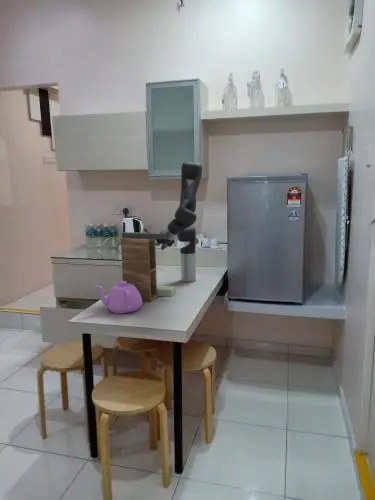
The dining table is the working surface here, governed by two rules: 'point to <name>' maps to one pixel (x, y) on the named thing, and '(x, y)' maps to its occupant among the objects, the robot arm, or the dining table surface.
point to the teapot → (121, 298)
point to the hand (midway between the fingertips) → (154, 248)
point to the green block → (166, 291)
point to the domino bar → (144, 235)
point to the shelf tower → (140, 266)
